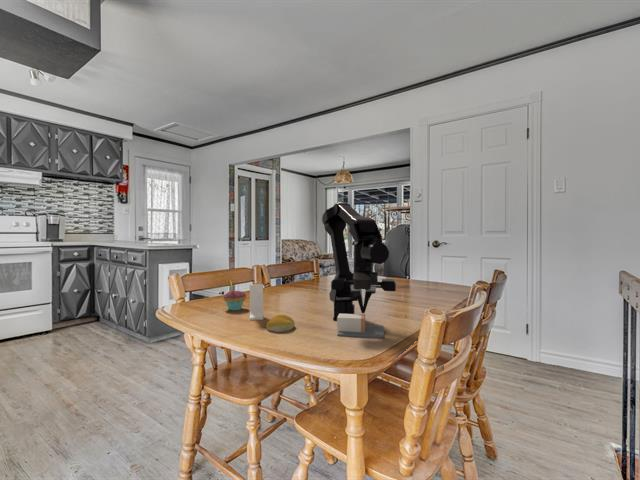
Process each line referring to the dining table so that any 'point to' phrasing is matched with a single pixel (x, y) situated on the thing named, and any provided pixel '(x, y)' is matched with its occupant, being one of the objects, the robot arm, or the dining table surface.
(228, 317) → the dining table surface
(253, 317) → the light gray rectangular block
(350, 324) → the tall block
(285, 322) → the bread roll
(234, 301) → the cupcake
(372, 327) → the rubber mat
